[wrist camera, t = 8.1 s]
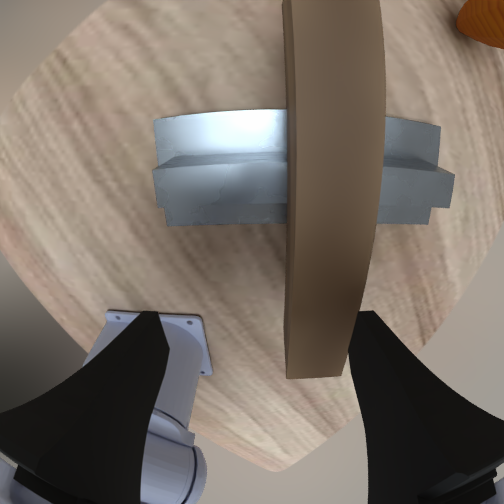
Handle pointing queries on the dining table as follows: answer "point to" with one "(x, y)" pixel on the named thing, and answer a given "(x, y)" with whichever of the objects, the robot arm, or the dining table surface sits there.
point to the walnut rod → (330, 174)
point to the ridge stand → (279, 169)
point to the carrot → (483, 21)
